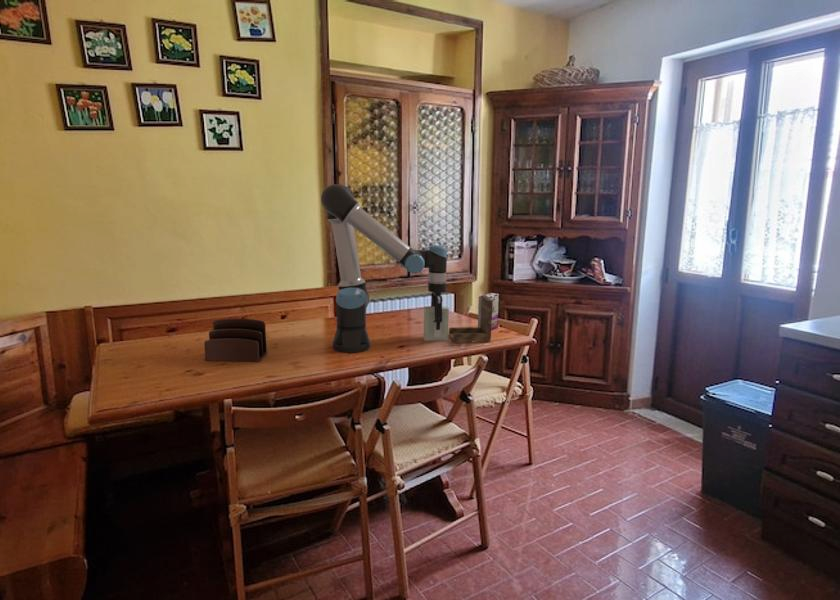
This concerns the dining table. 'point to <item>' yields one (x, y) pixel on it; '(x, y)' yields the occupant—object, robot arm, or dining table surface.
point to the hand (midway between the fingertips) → (435, 333)
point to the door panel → (429, 324)
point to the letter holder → (236, 340)
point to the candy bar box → (495, 300)
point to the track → (476, 332)
